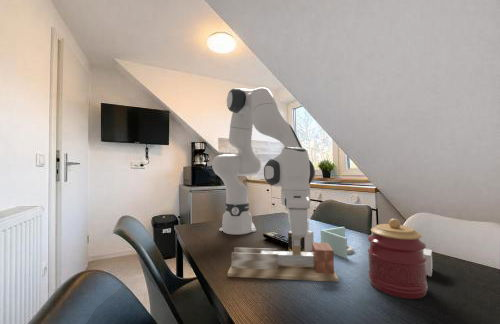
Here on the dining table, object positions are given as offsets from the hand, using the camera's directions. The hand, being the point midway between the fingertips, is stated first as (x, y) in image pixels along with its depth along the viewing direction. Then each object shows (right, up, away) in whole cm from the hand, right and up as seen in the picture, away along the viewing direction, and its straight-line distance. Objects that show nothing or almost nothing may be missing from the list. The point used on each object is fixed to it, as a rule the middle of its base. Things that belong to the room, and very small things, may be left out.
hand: (296, 243), depth 70 cm
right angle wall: (+22, -9, +17) cm, 29 cm away
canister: (+24, -8, -10) cm, 27 cm away
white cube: (+37, -8, -1) cm, 38 cm away
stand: (-5, -8, 0) cm, 9 cm away
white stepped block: (-2, -6, 0) cm, 7 cm away
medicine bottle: (+5, -9, +17) cm, 20 cm away
